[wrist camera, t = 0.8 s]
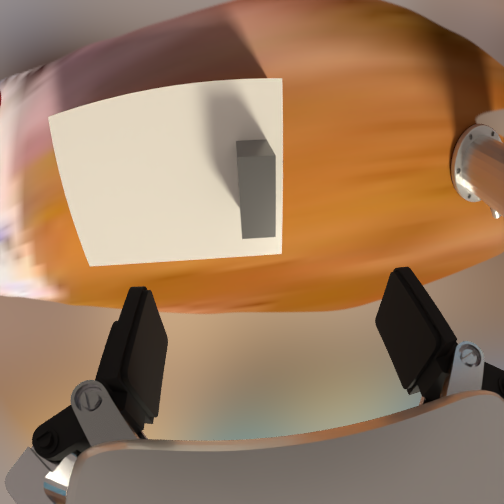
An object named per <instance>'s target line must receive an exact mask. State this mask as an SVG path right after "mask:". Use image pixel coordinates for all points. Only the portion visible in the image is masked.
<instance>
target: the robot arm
mask: <svg viewBox="0 0 504 504" xmlns="http://www.w3.org/2000/svg"><path fill="white" fill-rule="evenodd" d="M451 176H452V181H453V184H454V187H455V189H456V191H457V193H458V194H459V195H460V196H461V197H463V198H464V199H465V200H467V201H470V202H477V201H480V200H483V201H484V202H485V203H487V204H488V206H490V209H491V212H492V216H493V217H494V218H499V217H500V216H501V215H502V216H503V217H504V143H502V142H501V139H500V137H499V135H498V134H497V132H496V131H495V130H494V129H493V128H491V127H489V126H487V125H484V124H476V125H473V126H471V127H469V128H468V129H467V130H466V131H465V132H464V133H463V134H462V135H461V137H460V138H459V140H458V142H457V144H456V147H455V149H454V152H453V157H452V164H451ZM375 323H376V326H377V329H378V331H379V333H380V335H381V337H382V340H383V342H384V344H385V346H386V349H387V351H388V353H389V355H390V358H391V360H392V362H393V365H394V367H395V369H396V372H397V374H398V377H399V379H400V381H401V384H402V386H403V388H404V389H407V391H408V394H409V395H411V394H414V393H417V392H421V394H422V397H421V400H420V403H419V406H417V407H413V408H410V409H407V410H404V411H401V412H398V413H394V414H391V415H388V416H384V417H380V418H376V419H373V420H369V421H365V422H361V423H356V424H352V425H348V426H343V427H338V428H333V429H328V430H322V431H316V432H310V433H304V434H297V435H289V436H281V437H271V438H260V439H246V440H224V441H179V440H152V439H148V438H147V437H146V436H145V434H144V433H143V432H142V430H143V429H144V423H148V424H153V419H154V417H157V416H158V411H159V403H160V395H161V387H162V379H163V372H164V365H165V358H166V352H167V346H168V339H167V335H166V332H165V329H164V326H163V323H162V321H161V318H160V315H159V312H158V309H157V306H156V303H155V301H154V298H153V295H152V292H151V290H147V288H146V287H131V288H130V289H129V292H128V294H127V297H126V300H125V303H124V305H123V308H122V311H121V314H120V317H119V320H118V321H115V322H114V323H113V325H112V328H111V330H110V334H109V336H108V339H107V343H106V345H105V349H104V352H103V355H102V358H101V361H100V365H99V368H98V372H97V375H96V379H95V381H94V380H87V381H84V382H81V383H80V384H79V385H77V386H76V387H75V389H74V390H73V392H72V395H71V405H70V406H68V407H67V408H66V409H64V410H62V411H61V412H59V413H58V414H57V415H55V416H53V417H52V418H51V419H49V420H48V421H46V422H45V423H43V424H41V425H40V426H39V427H38V428H37V429H36V430H35V432H34V434H33V438H32V444H33V446H32V448H30V447H28V448H27V449H26V450H25V452H24V453H23V454H22V455H21V457H20V458H19V459H18V461H17V462H16V463H15V464H14V466H13V467H12V468H11V470H10V471H9V472H8V474H7V476H6V479H5V485H6V489H7V491H8V493H9V494H10V495H11V497H12V498H13V499H14V501H15V502H16V503H17V504H504V371H503V370H501V369H499V368H497V367H495V366H493V365H490V364H488V363H486V362H484V355H483V352H482V350H481V349H480V348H479V347H478V346H477V345H476V344H474V343H472V342H469V341H463V342H461V343H459V344H457V342H456V340H457V338H456V336H455V335H454V333H453V331H452V330H451V328H450V327H449V325H448V323H447V322H446V320H445V318H444V317H443V315H442V314H441V312H440V311H439V309H438V308H437V306H436V305H435V303H434V302H433V300H432V299H431V297H430V296H429V294H428V293H427V291H426V290H425V289H424V287H423V286H422V284H421V283H420V281H419V280H418V279H417V277H416V276H415V274H414V273H413V272H412V270H411V269H410V268H409V267H400V268H395V269H394V271H393V272H391V274H390V277H389V280H388V283H387V286H386V289H385V292H384V295H383V298H382V301H381V304H380V307H379V310H378V313H377V316H376V320H375ZM67 487H68V489H67ZM66 490H67V496H66Z"/></svg>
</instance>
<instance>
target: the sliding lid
mask: <svg viewBox="0 0 504 504" xmlns="http://www.w3.org/2000/svg"><path fill="white" fill-rule="evenodd" d="M48 119H49V125H50V131H51V136H52V141H53V146H54V151H55V156H56V160H57V164H58V169H59V173H60V177H61V181H62V184H63V188H64V192H65V195H66V199H67V202H68V205H69V209H70V212H71V215H72V218H73V221H74V224H75V227H76V230H77V233H78V236H79V239H80V242H81V244H82V247H83V250H84V253H85V255H86V258H87V260H88V263H89V265H90V266H103V265H119V264H135V263H150V262H166V261H181V260H196V259H211V258H226V257H241V256H256V255H271V254H281V253H282V205H283V99H282V78H259V79H234V80H219V81H208V82H198V83H189V84H182V85H174V86H168V87H162V88H156V89H150V90H145V91H140V92H135V93H130V94H125V95H121V96H117V97H113V98H109V99H105V100H101V101H97V102H93V103H90V104H86V105H83V106H80V107H76V108H73V109H70V110H67V111H64V112H61V113H58V114H55V115H52V116H50V117H48Z"/></svg>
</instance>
